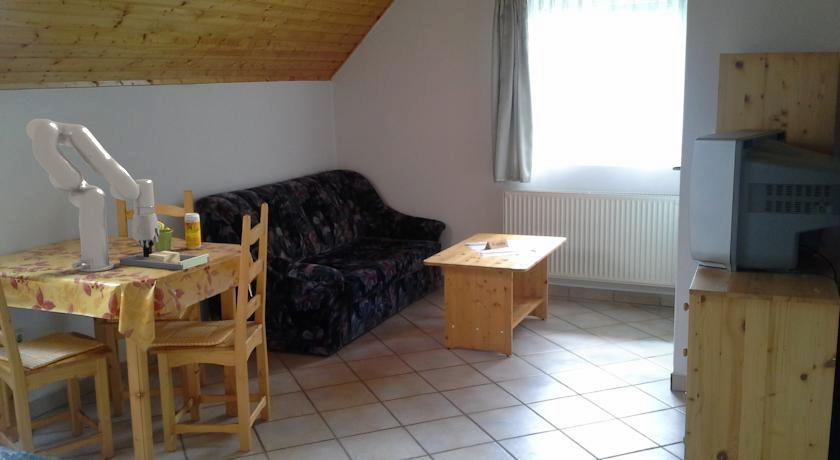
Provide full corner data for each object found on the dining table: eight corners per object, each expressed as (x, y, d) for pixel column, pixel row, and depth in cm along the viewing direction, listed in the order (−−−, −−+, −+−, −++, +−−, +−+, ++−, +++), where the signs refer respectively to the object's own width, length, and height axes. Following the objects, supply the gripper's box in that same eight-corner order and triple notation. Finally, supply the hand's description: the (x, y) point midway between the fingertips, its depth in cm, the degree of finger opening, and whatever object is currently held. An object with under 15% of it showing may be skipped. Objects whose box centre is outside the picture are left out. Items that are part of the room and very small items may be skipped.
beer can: (184, 249, 326) (182, 214, 323) (189, 247, 332) (187, 212, 329) (198, 249, 326) (196, 214, 323) (203, 247, 332) (201, 212, 329)
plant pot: (159, 254, 316) (158, 233, 315) (146, 251, 322) (145, 231, 321) (179, 250, 324) (177, 230, 322) (165, 248, 329) (164, 228, 328)
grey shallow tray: (181, 270, 287) (180, 262, 286) (119, 263, 298) (119, 256, 298) (209, 261, 301) (208, 254, 301) (149, 255, 313) (149, 248, 313)
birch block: (164, 266, 295) (163, 256, 294) (149, 264, 298) (149, 254, 298) (180, 262, 302) (179, 252, 301) (165, 260, 305) (164, 250, 305)
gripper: (122, 211, 299) (126, 257, 303) (152, 213, 294) (156, 259, 297) (136, 208, 306) (140, 253, 309) (166, 210, 300) (169, 256, 303)
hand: (148, 256), depth 303 cm, fingers closed
